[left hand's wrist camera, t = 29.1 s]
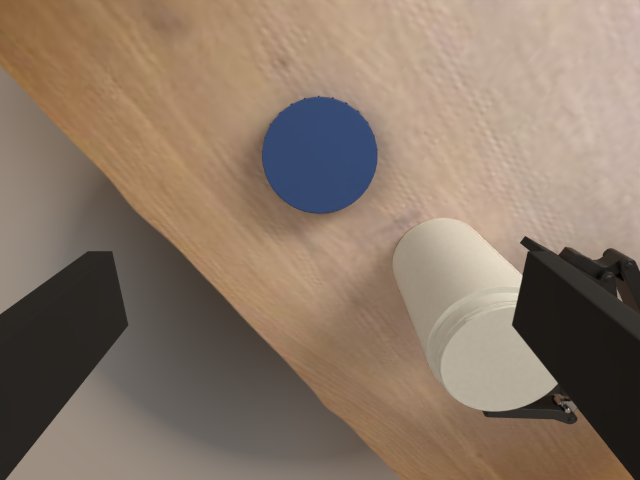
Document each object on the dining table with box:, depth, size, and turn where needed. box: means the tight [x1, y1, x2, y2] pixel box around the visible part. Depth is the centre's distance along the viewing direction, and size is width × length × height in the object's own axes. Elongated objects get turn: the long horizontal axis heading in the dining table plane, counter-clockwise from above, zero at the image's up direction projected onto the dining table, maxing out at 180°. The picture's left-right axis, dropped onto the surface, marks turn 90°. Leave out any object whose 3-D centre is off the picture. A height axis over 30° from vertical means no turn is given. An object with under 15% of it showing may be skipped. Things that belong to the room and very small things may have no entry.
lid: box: [262, 96, 377, 213], centre depth 36 cm, size 11×11×2 cm
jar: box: [392, 218, 558, 411], centre depth 34 cm, size 10×10×16 cm
